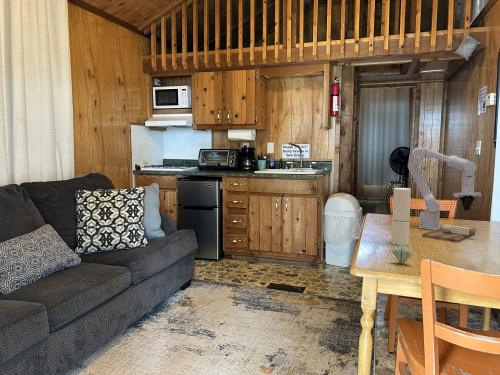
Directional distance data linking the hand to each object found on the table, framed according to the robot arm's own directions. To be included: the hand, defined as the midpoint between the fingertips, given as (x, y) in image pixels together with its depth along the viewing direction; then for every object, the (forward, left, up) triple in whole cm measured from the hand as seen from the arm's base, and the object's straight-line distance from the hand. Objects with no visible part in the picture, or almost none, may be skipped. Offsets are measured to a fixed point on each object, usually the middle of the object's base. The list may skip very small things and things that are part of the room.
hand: (466, 210), depth 198 cm
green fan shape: (+5, -78, -11) cm, 79 cm away
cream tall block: (-10, -50, -11) cm, 52 cm away
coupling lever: (+3, -18, -9) cm, 20 cm away
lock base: (-1, -19, -10) cm, 22 cm away
